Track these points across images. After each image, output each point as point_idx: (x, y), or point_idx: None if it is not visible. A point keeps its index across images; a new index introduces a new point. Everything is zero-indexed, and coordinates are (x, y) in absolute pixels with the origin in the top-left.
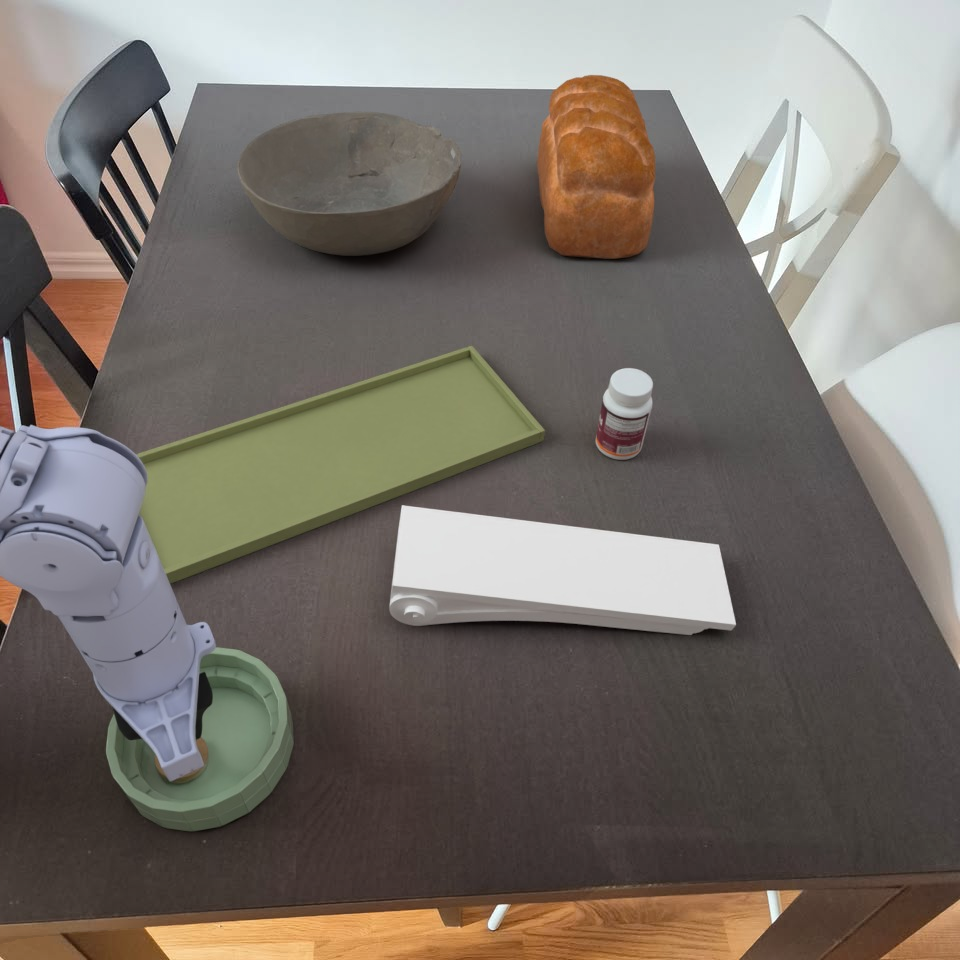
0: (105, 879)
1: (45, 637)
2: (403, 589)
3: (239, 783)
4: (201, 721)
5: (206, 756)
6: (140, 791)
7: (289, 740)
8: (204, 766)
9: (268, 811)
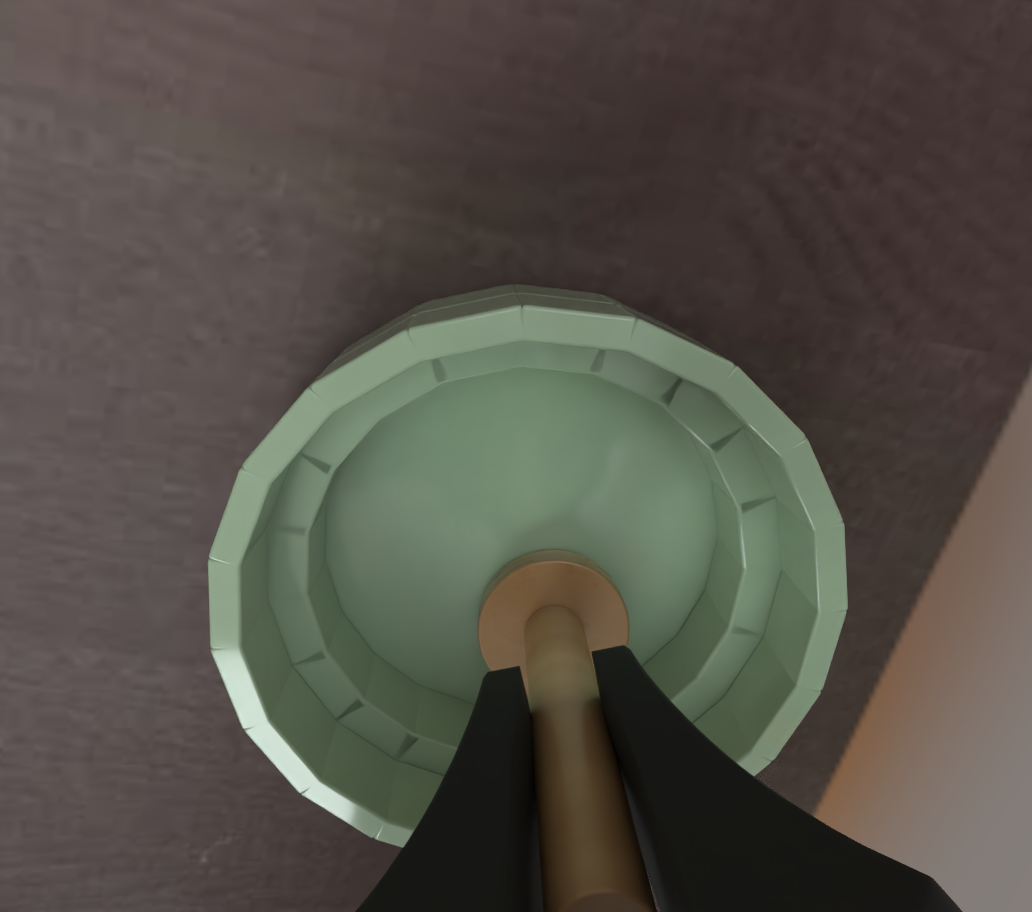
0: (770, 766)
1: (65, 905)
2: None
3: (814, 519)
4: (684, 717)
5: (577, 565)
6: None
7: (636, 312)
8: (599, 568)
9: (772, 400)
